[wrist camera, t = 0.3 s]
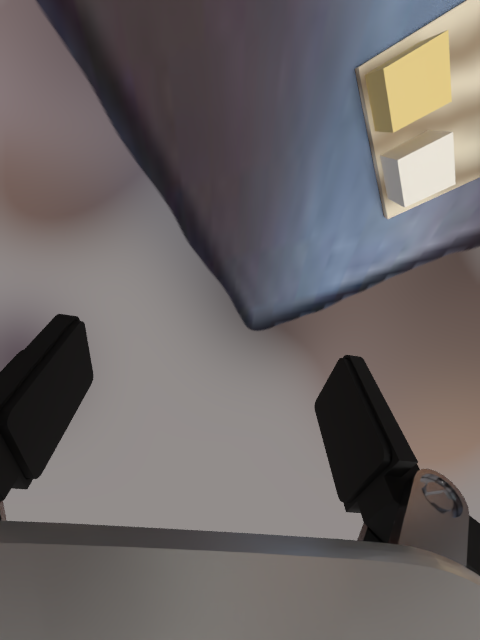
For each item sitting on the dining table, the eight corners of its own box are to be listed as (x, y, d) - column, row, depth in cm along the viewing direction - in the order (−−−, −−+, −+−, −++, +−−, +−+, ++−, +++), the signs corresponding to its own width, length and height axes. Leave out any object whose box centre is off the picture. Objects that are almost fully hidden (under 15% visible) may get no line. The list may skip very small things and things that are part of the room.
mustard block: (364, 75, 32) (383, 68, 28) (420, 41, 30) (448, 29, 26) (375, 131, 35) (393, 132, 31) (425, 103, 33) (451, 101, 29)
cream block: (379, 155, 36) (397, 160, 32) (428, 130, 35) (453, 131, 31) (387, 198, 40) (404, 207, 36) (432, 177, 38) (455, 184, 34)
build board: (354, 69, 32) (376, 59, 27) (558, -57, 27) (631, -97, 22) (384, 216, 42) (404, 230, 37) (537, 146, 37) (584, 150, 32)
